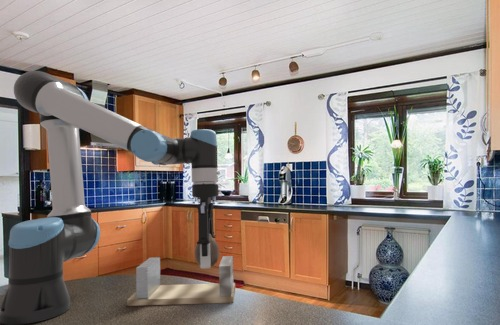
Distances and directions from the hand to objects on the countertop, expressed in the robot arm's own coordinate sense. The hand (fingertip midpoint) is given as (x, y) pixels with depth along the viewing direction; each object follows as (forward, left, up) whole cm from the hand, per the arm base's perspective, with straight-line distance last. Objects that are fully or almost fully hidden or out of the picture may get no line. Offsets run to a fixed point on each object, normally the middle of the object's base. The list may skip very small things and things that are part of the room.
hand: (207, 264), depth 93 cm
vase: (0, 0, -1) cm, 1 cm away
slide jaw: (-17, 0, -7) cm, 18 cm away
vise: (-7, 0, -9) cm, 11 cm away
